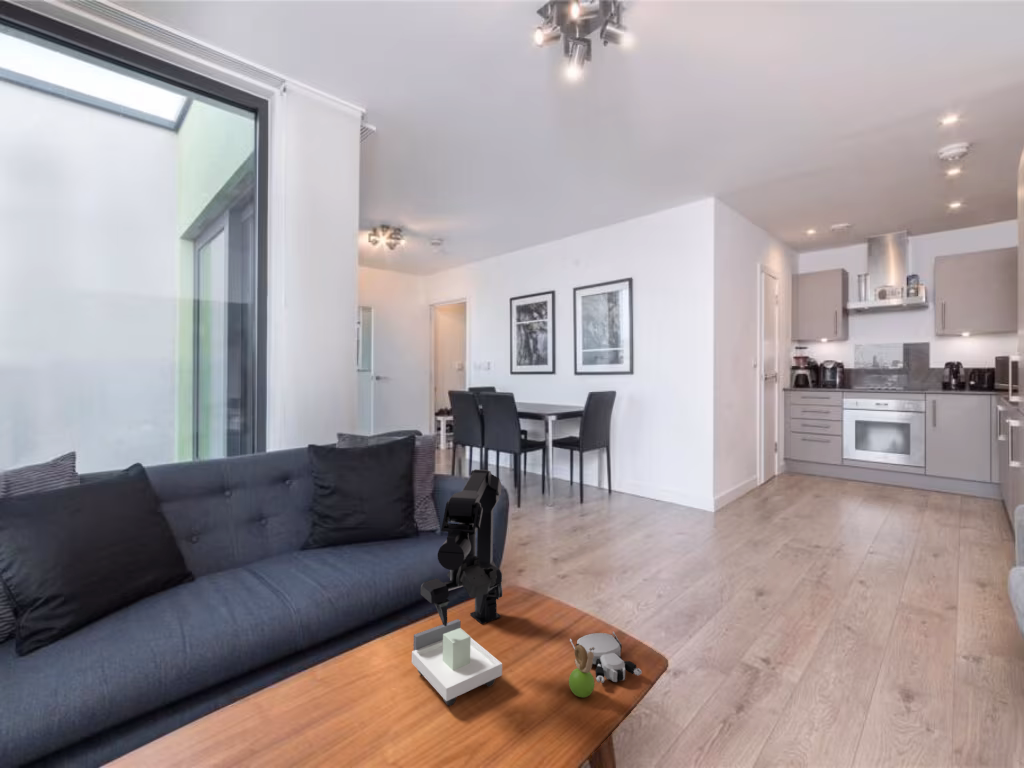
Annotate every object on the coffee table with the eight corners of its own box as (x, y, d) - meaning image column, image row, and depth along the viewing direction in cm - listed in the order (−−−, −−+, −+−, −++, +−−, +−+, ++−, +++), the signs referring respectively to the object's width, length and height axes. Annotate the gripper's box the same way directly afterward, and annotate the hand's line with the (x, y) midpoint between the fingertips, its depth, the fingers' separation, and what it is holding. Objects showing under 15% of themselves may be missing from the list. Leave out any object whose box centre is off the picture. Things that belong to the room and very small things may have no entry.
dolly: (409, 670, 107) (409, 636, 107) (461, 649, 116) (461, 617, 116) (446, 713, 94) (446, 673, 93) (501, 686, 102) (502, 649, 102)
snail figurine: (581, 709, 95) (582, 651, 95) (563, 691, 101) (564, 636, 101) (602, 701, 98) (603, 645, 97) (584, 683, 103) (584, 630, 103)
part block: (442, 660, 104) (442, 634, 104) (459, 653, 107) (460, 627, 107) (452, 670, 101) (453, 643, 101) (470, 663, 104) (470, 636, 104)
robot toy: (645, 685, 104) (611, 644, 119) (646, 666, 104) (612, 627, 118) (596, 695, 101) (567, 652, 115) (597, 676, 100) (568, 634, 115)
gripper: (444, 574, 94) (443, 650, 94) (516, 553, 105) (516, 621, 105) (419, 556, 103) (419, 626, 103) (489, 539, 114) (488, 601, 114)
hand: (462, 618), depth 106 cm, fingers open, 9 cm apart
